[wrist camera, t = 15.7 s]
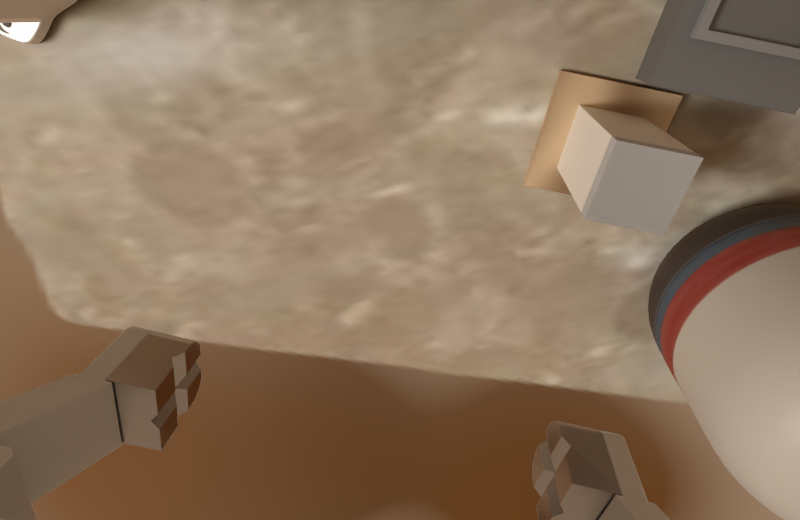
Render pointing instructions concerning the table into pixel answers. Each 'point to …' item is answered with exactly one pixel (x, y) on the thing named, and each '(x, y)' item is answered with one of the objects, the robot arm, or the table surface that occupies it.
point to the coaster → (597, 95)
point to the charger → (625, 170)
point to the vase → (739, 343)
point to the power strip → (729, 51)
